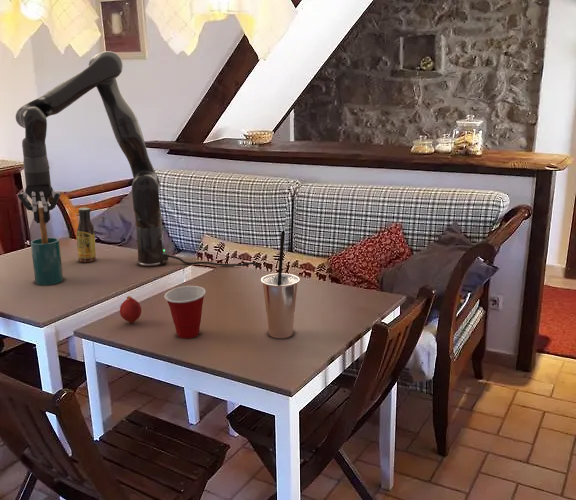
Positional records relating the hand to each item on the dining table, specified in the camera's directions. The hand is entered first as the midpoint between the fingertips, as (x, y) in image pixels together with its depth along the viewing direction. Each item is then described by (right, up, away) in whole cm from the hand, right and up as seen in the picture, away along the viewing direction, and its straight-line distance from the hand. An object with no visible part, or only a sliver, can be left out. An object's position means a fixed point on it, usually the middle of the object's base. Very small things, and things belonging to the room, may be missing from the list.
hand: (42, 222), depth 210 cm
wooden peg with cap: (0, -14, +4) cm, 15 cm away
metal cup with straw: (+79, -32, -40) cm, 94 cm away
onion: (+37, -30, -31) cm, 57 cm away
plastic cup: (+54, -32, -39) cm, 74 cm away
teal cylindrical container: (0, -20, +5) cm, 20 cm away
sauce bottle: (+6, -13, +28) cm, 32 cm away
